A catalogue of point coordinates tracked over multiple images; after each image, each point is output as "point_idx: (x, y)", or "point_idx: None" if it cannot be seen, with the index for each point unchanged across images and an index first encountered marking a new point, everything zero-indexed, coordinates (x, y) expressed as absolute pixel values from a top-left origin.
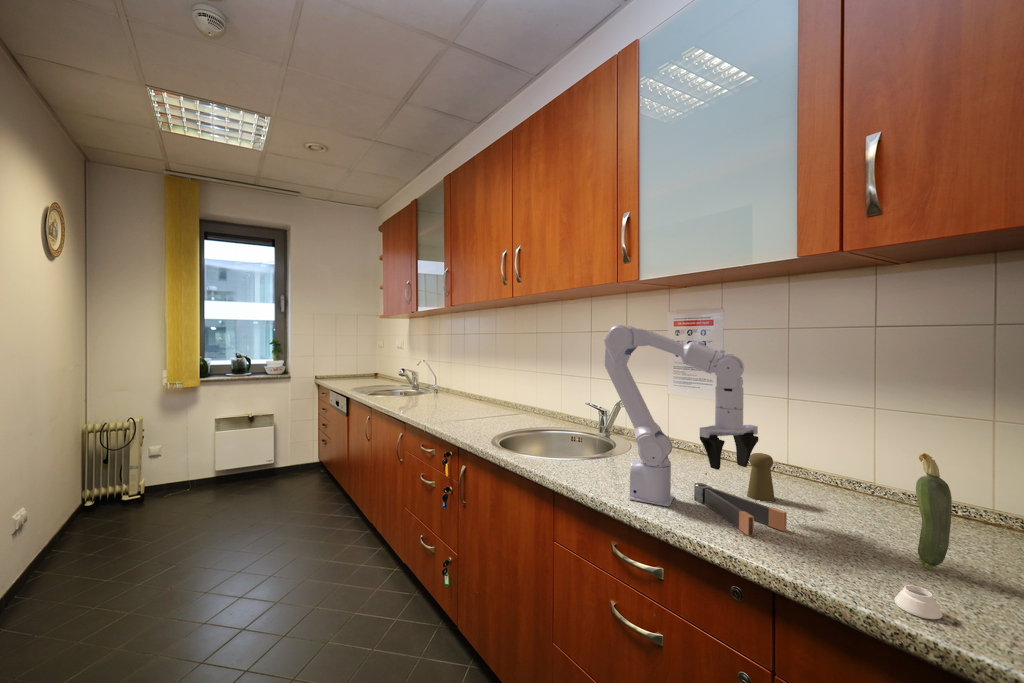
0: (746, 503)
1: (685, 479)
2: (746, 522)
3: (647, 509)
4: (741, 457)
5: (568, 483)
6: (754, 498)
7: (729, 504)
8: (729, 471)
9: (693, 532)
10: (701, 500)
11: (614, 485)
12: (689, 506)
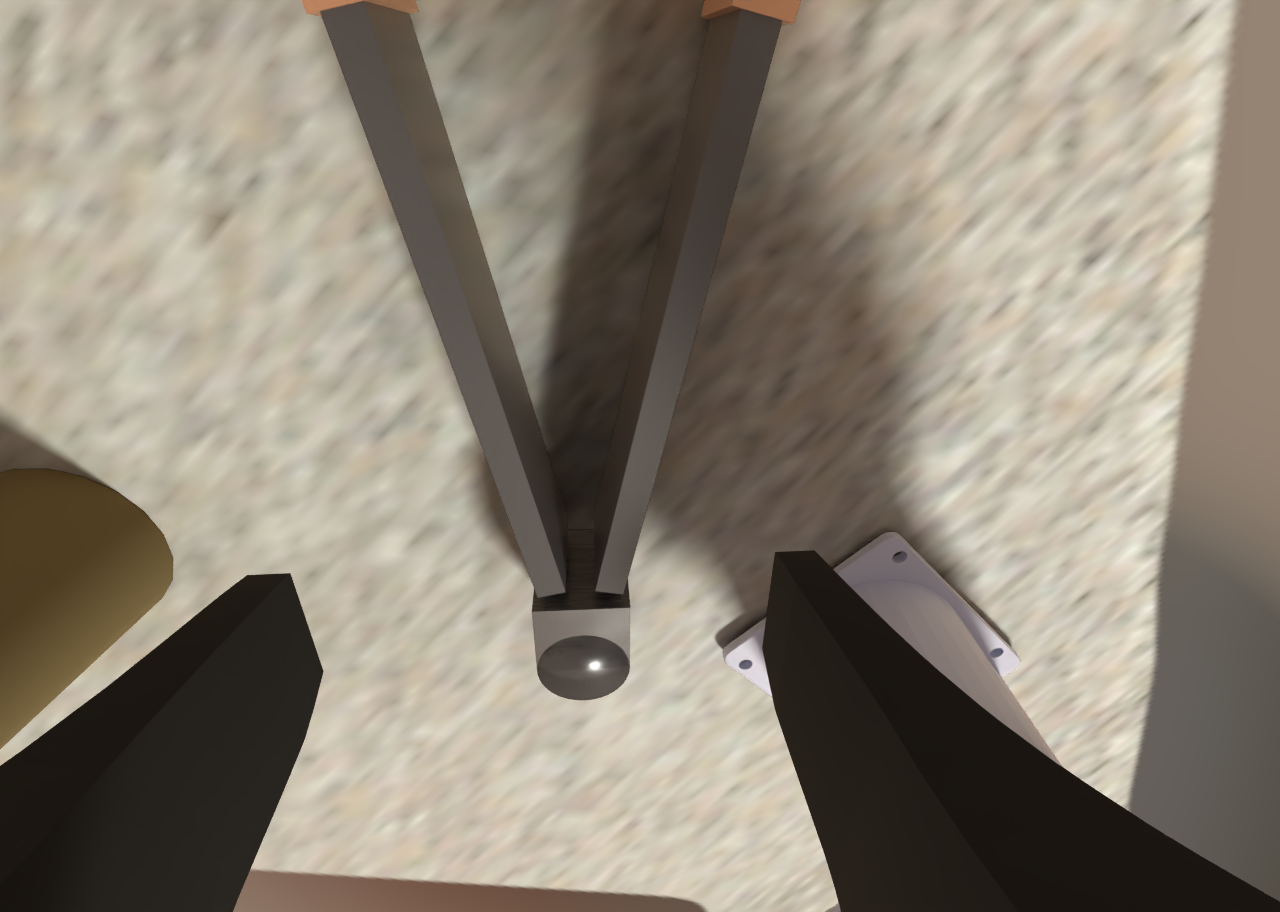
0: (464, 274)
1: (431, 839)
2: None
3: (1039, 526)
4: (245, 738)
5: None
6: (148, 530)
7: (717, 237)
8: None
9: (1126, 111)
10: None
11: None
12: (741, 515)
